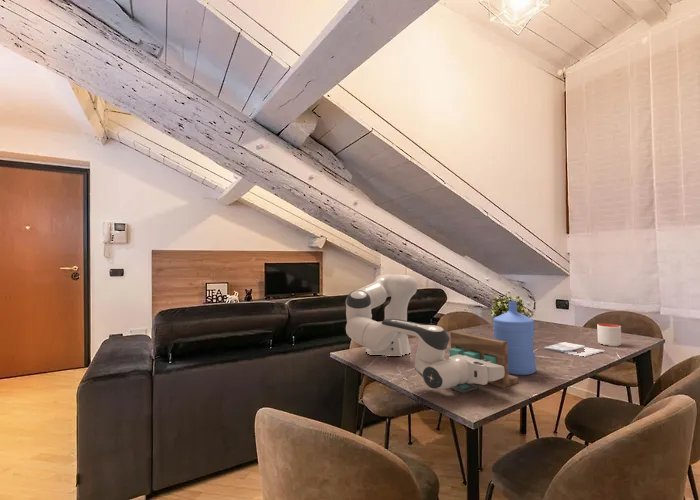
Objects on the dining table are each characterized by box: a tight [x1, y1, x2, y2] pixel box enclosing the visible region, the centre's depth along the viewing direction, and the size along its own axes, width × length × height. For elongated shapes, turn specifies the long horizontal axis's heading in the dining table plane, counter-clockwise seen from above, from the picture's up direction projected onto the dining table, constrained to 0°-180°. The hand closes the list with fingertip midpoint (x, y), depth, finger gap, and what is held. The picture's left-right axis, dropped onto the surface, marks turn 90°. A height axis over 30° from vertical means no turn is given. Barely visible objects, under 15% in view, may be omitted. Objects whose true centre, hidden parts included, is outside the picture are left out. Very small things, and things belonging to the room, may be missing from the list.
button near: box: [484, 354, 497, 364], centre depth 136 cm, size 7×4×4 cm, turn 123°
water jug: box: [492, 300, 537, 376], centre depth 151 cm, size 16×16×28 cm
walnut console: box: [449, 330, 519, 388], centre depth 143 cm, size 9×24×16 cm, turn 33°
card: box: [450, 383, 479, 394], centre depth 134 cm, size 8×14×1 cm, turn 33°
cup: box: [596, 323, 622, 347], centre depth 189 cm, size 10×10×10 cm
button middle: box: [463, 350, 481, 360], centre depth 140 cm, size 7×4×4 cm, turn 123°
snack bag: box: [543, 341, 607, 358], centre depth 179 cm, size 19×20×2 cm
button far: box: [448, 347, 466, 357], centre depth 146 cm, size 7×4×4 cm, turn 123°
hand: (489, 362), depth 134 cm, fingers closed, pressing on button near
